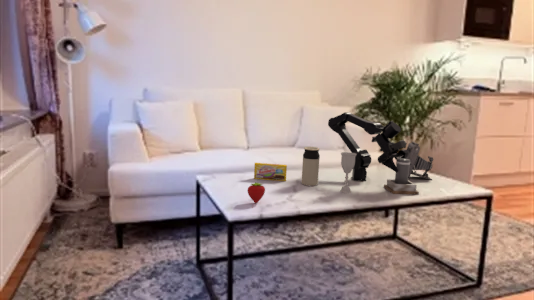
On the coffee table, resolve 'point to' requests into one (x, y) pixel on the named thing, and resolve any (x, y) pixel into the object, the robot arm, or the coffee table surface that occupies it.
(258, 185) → the strawberry
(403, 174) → the lens
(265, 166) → the candy box
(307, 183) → the travel mug
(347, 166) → the chalice
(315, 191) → the coffee table surface
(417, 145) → the camera
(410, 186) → the mount
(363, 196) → the coffee table surface
